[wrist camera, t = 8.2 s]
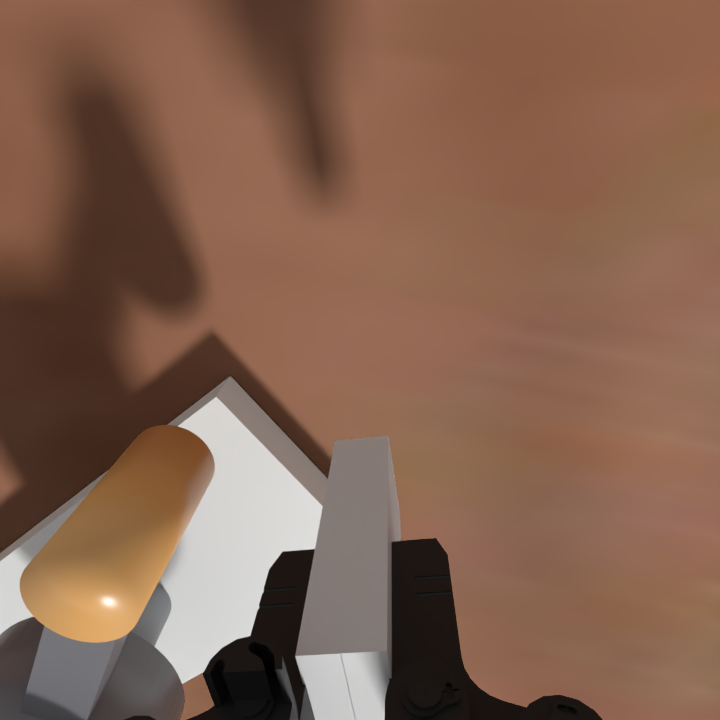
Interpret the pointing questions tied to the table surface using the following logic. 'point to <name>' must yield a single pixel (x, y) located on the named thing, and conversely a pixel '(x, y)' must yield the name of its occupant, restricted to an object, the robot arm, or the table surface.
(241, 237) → the table surface
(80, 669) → the orange knob joystick
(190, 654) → the post base
